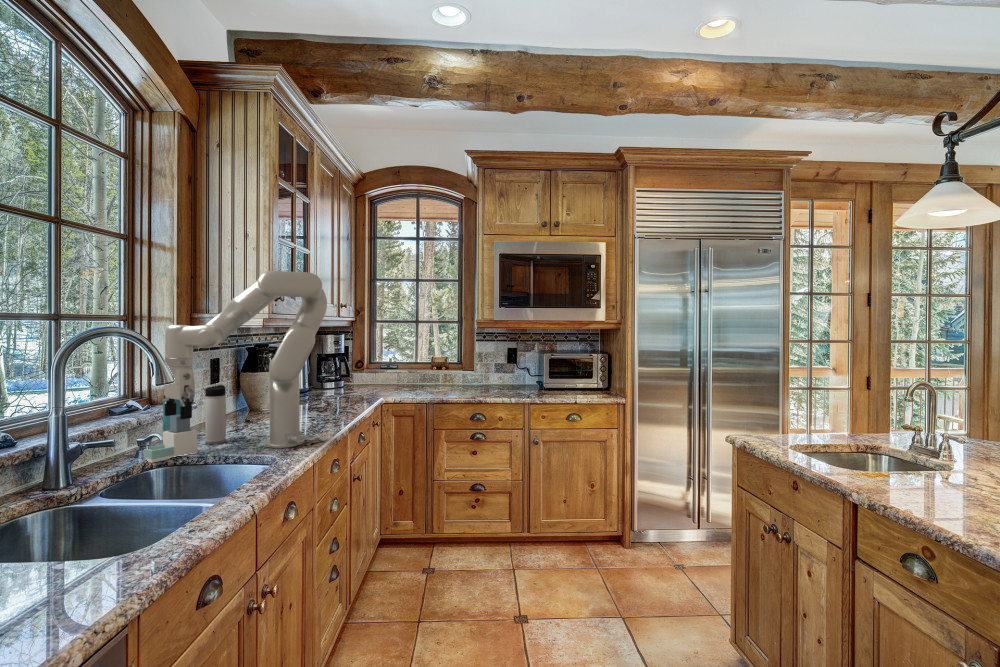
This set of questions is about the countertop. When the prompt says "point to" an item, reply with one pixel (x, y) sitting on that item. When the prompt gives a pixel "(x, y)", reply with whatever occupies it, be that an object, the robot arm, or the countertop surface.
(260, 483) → the countertop surface
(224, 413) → the travel mug
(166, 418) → the beverage bottle
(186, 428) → the grey rectangular block
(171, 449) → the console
